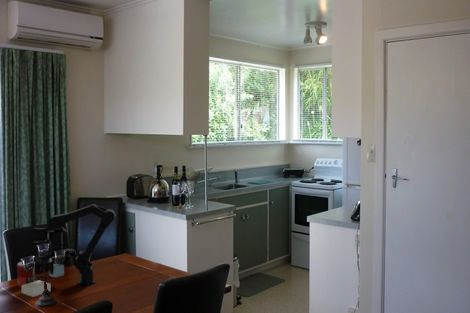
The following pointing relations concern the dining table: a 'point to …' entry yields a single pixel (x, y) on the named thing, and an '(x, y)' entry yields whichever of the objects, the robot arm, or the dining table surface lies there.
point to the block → (57, 270)
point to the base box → (35, 288)
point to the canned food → (25, 275)
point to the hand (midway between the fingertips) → (56, 273)
